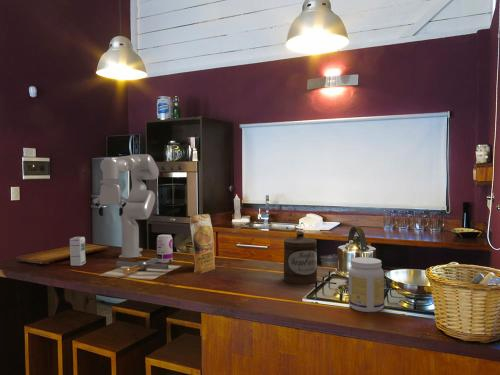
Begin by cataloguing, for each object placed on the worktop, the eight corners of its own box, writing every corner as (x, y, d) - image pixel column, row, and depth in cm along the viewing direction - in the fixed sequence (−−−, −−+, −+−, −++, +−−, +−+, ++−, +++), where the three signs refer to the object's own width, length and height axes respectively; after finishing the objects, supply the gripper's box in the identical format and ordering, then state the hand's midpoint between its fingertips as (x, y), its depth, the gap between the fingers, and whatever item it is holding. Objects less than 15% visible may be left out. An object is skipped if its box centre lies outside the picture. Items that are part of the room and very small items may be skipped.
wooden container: (290, 285, 169) (290, 234, 168) (279, 277, 183) (279, 229, 182) (322, 283, 173) (322, 232, 172) (308, 274, 187) (308, 228, 186)
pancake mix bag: (185, 274, 189) (184, 215, 188) (209, 266, 205) (209, 212, 205) (196, 276, 186) (195, 216, 185) (220, 267, 202) (219, 213, 201)
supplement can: (174, 261, 217) (174, 234, 217) (169, 265, 209) (169, 236, 208) (160, 261, 218) (159, 234, 217) (155, 264, 210) (154, 236, 209)
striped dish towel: (133, 264, 210) (133, 261, 210) (181, 268, 201) (181, 265, 201) (98, 277, 183) (98, 274, 183) (151, 282, 175) (151, 279, 175)
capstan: (133, 261, 210) (133, 254, 210) (181, 265, 201) (181, 258, 201) (98, 274, 183) (98, 266, 183) (151, 278, 175) (151, 270, 175)
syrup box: (81, 265, 208) (80, 238, 208) (70, 265, 208) (69, 238, 208) (85, 263, 214) (85, 236, 213) (75, 263, 214) (74, 236, 213)
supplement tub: (376, 301, 147) (377, 256, 146) (389, 312, 135) (389, 263, 134) (344, 302, 147) (344, 256, 146) (354, 313, 134) (354, 264, 134)
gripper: (91, 182, 199) (91, 216, 200) (126, 182, 201) (126, 216, 201) (95, 182, 207) (96, 215, 207) (129, 182, 208) (129, 214, 209)
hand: (111, 215), depth 204 cm, fingers open, 9 cm apart
